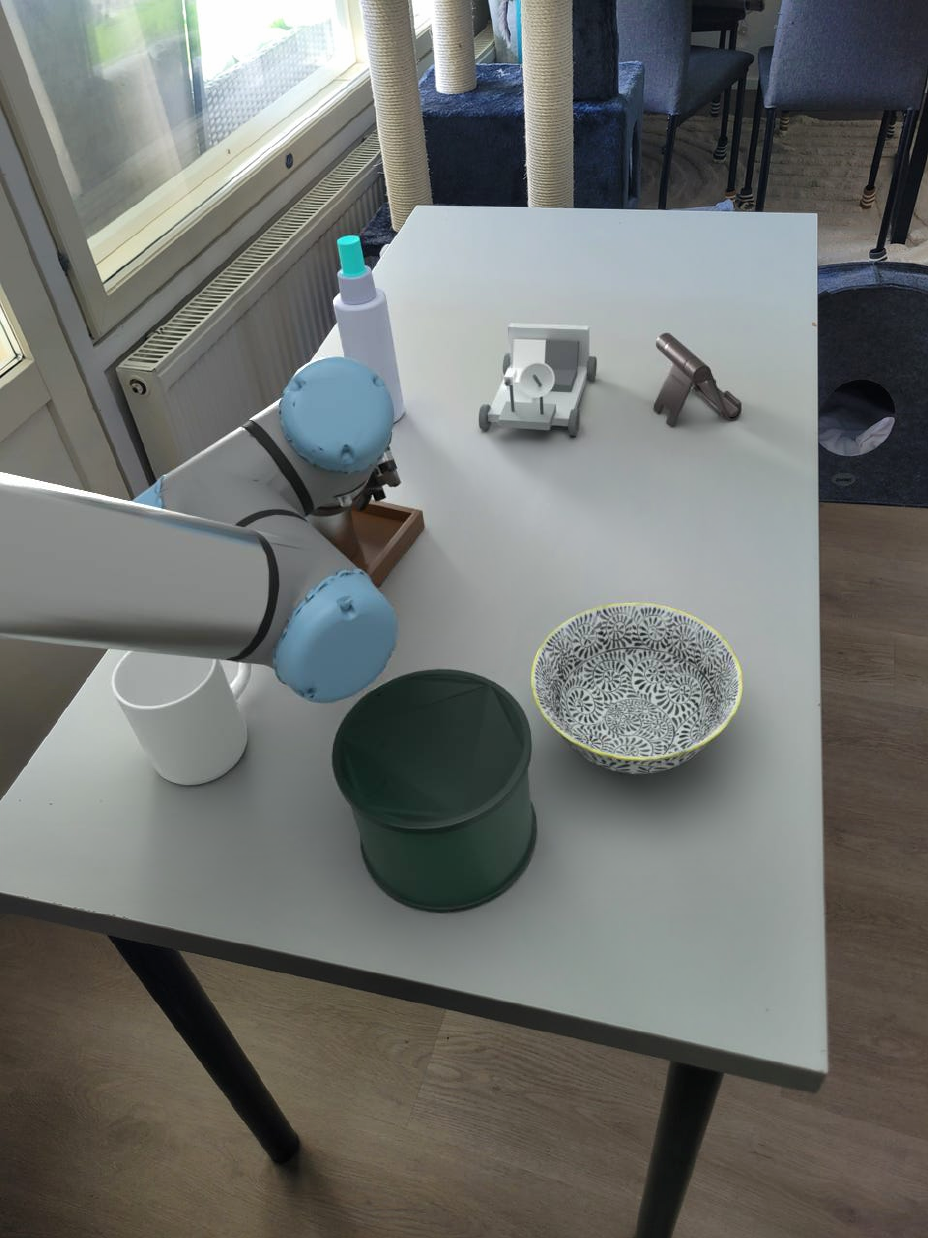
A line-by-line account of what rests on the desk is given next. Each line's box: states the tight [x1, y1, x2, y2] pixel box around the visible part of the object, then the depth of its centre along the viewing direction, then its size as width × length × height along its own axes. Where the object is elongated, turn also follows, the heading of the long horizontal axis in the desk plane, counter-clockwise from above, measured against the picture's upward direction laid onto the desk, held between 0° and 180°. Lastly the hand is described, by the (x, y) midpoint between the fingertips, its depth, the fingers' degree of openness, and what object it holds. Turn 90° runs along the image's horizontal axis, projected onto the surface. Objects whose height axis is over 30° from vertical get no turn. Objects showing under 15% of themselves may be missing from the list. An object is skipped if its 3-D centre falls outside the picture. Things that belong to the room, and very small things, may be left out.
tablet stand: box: [652, 332, 743, 427], centre depth 107 cm, size 9×8×8 cm
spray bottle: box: [332, 234, 405, 423], centre depth 108 cm, size 6×6×22 cm
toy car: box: [478, 322, 598, 437], centre depth 110 cm, size 18×10×12 cm
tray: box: [350, 498, 426, 590], centre depth 96 cm, size 16×16×2 cm
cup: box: [110, 651, 252, 786], centre depth 77 cm, size 8×12×10 cm
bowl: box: [530, 602, 744, 775], centre depth 73 cm, size 16×16×8 cm
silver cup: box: [305, 508, 358, 561], centre depth 93 cm, size 7×7×9 cm
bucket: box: [331, 668, 538, 914], centre depth 67 cm, size 14×14×11 cm
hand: (309, 514), depth 96 cm, fingers open, 10 cm apart
